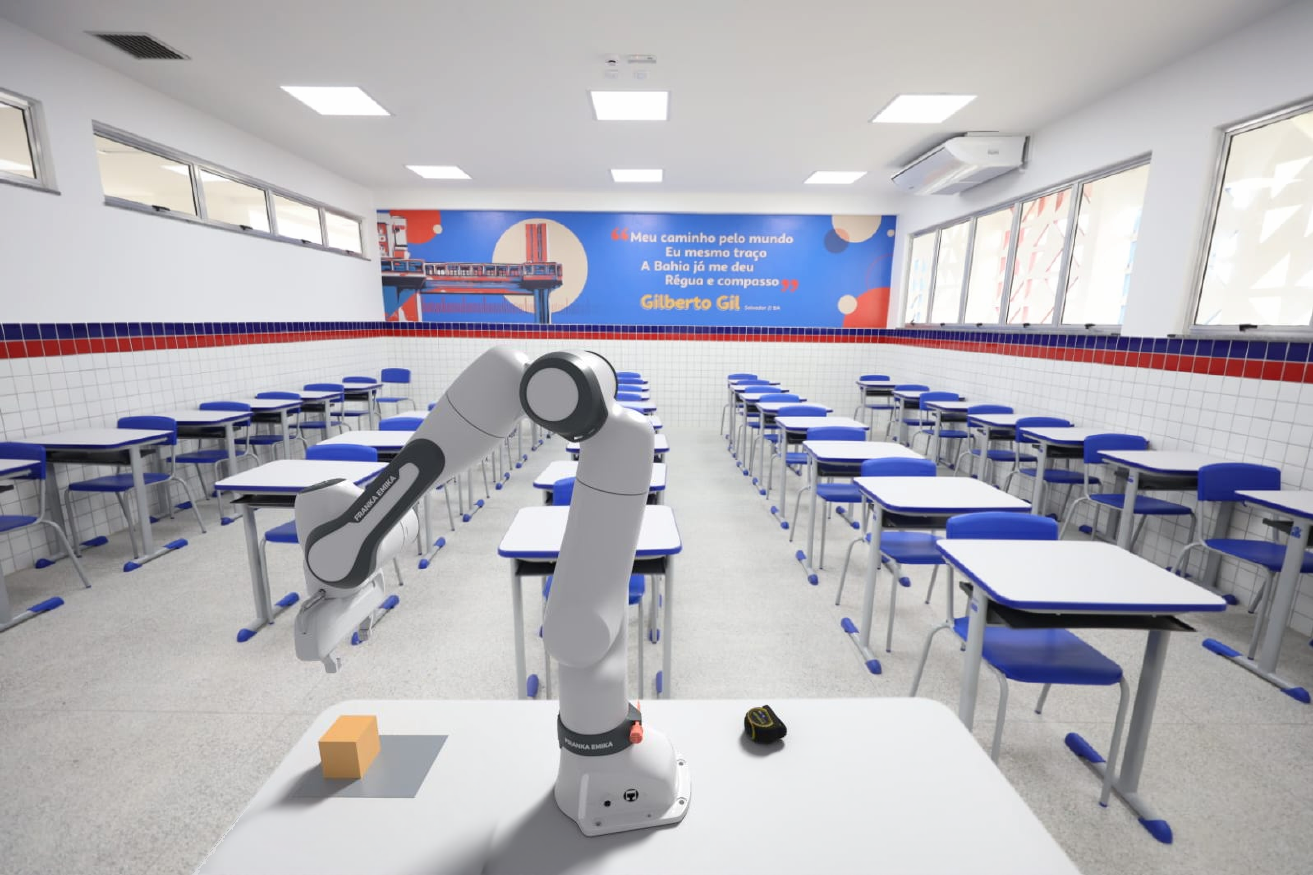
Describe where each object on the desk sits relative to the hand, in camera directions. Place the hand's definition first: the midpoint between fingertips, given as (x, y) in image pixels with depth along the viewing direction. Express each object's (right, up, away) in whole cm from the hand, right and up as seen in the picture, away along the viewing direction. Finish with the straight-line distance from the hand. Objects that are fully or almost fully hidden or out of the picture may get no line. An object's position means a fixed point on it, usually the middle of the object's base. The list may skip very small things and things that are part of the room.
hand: (350, 653), depth 95 cm
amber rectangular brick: (-1, -20, +3) cm, 20 cm away
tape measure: (+72, -19, +11) cm, 75 cm away
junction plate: (+3, -22, +3) cm, 22 cm away
